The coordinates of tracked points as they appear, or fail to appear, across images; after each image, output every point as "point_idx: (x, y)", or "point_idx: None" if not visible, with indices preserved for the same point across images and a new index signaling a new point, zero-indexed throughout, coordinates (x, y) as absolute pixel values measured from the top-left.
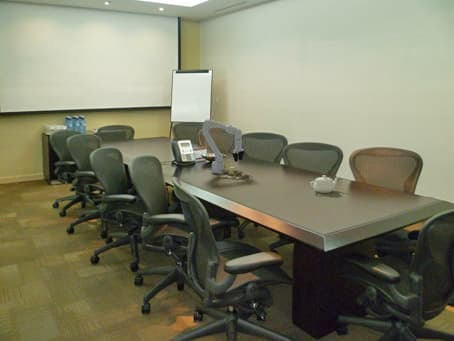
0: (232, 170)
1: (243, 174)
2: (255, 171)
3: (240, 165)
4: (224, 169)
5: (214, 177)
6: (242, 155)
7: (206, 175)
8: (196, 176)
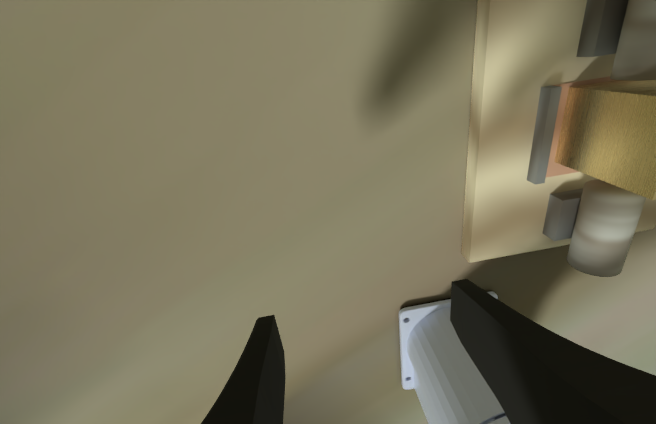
0: None
1: (508, 15)
2: (110, 63)
3: (14, 414)
4: (625, 253)
5: (653, 240)
6: (249, 408)
7: (589, 332)
8: (641, 354)
